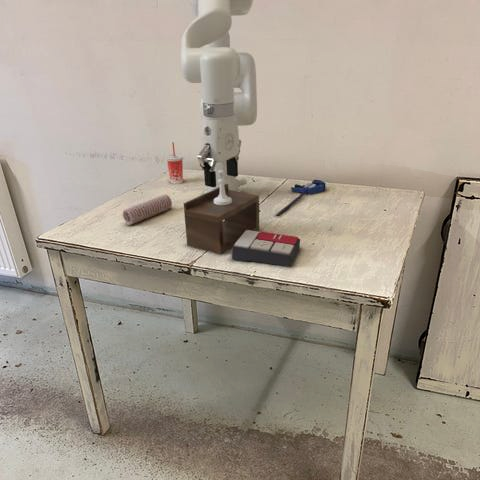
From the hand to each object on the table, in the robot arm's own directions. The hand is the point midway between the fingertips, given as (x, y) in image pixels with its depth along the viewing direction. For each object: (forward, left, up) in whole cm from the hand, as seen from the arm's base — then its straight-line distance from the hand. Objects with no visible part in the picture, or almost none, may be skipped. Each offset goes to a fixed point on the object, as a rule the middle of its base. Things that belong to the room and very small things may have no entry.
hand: (221, 180), depth 125 cm
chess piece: (0, 0, -6) cm, 6 cm away
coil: (+6, -28, -16) cm, 33 cm away
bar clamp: (-37, -7, -16) cm, 40 cm away
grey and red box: (0, +17, -16) cm, 23 cm away
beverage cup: (-21, -52, -16) cm, 58 cm away
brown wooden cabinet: (0, 0, -16) cm, 15 cm away
